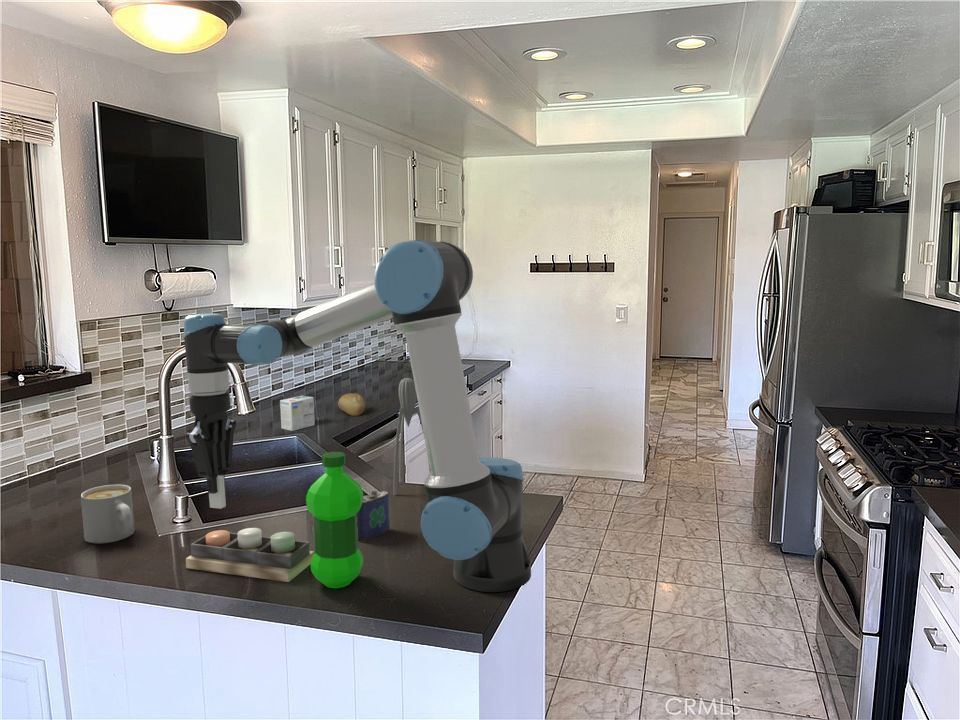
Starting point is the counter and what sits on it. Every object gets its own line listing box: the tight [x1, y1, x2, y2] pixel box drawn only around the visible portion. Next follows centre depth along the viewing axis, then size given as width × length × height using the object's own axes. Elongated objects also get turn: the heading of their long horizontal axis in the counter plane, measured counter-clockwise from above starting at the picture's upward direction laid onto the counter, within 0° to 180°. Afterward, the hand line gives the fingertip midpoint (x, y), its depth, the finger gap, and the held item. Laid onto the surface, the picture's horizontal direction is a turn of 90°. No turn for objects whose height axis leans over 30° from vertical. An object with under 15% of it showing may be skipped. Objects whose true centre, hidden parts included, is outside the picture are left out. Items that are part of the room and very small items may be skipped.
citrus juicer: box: [393, 377, 431, 496], centre depth 186 cm, size 11×10×30 cm
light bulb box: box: [279, 395, 316, 432], centre depth 257 cm, size 11×7×11 cm, turn 144°
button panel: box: [185, 530, 315, 583], centre depth 142 cm, size 23×10×4 cm, turn 74°
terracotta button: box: [205, 529, 231, 547], centre depth 143 cm, size 5×5×2 cm
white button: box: [236, 527, 263, 549], centre depth 141 cm, size 5×5×2 cm
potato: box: [337, 392, 366, 417], centre depth 280 cm, size 10×15×8 cm, turn 33°
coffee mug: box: [80, 484, 135, 544], centre depth 156 cm, size 13×10×10 cm
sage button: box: [270, 531, 296, 553], centre depth 139 cm, size 5×5×2 cm
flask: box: [357, 488, 390, 543], centre depth 156 cm, size 9×3×11 cm, turn 144°
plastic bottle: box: [305, 451, 364, 589], centre depth 132 cm, size 10×10×25 cm
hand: (218, 506), depth 142 cm, fingers closed
